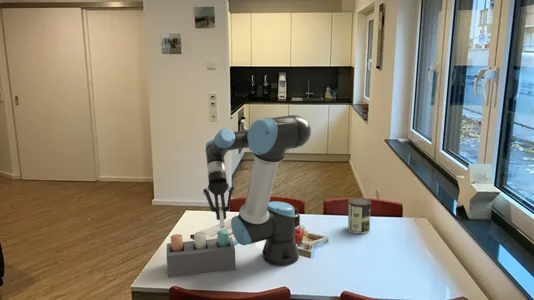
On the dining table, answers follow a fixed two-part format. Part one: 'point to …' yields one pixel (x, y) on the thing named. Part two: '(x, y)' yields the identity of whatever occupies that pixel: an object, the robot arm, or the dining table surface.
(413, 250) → the dining table surface
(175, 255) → the button console
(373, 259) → the dining table surface
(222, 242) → the teal button
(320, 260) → the dining table surface
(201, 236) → the cream button
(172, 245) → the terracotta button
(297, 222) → the supplement bottle
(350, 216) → the coffee can
